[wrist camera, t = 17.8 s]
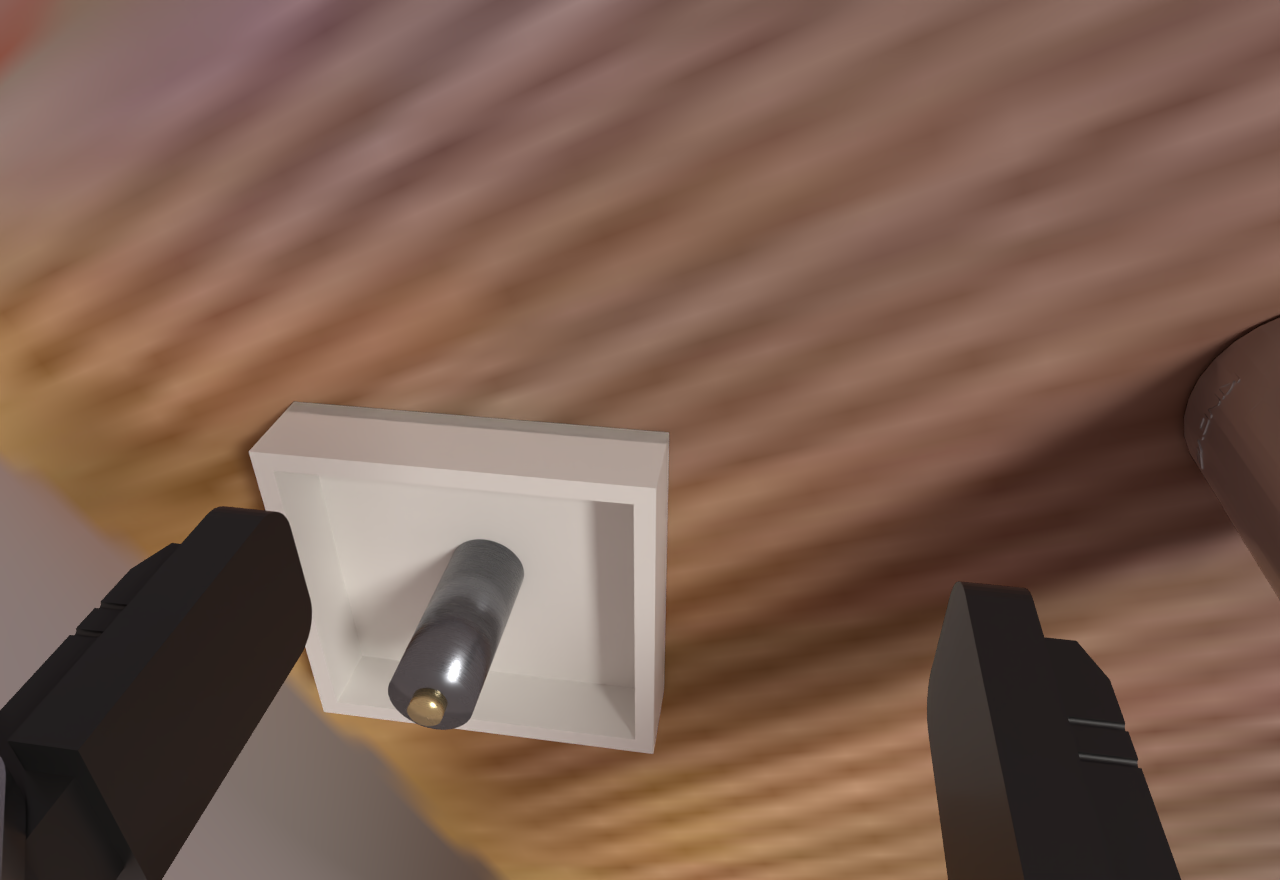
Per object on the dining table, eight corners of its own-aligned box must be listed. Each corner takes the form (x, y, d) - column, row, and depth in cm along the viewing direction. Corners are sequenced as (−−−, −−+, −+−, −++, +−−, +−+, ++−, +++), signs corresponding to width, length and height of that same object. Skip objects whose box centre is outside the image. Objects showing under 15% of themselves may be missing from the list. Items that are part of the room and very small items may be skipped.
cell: (521, 542, 47) (462, 688, 39) (526, 599, 50) (472, 748, 41) (447, 535, 48) (374, 678, 40) (456, 592, 50) (388, 737, 42)
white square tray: (669, 432, 43) (656, 488, 40) (664, 690, 53) (653, 754, 50) (293, 401, 46) (248, 451, 42) (356, 653, 56) (324, 711, 52)
